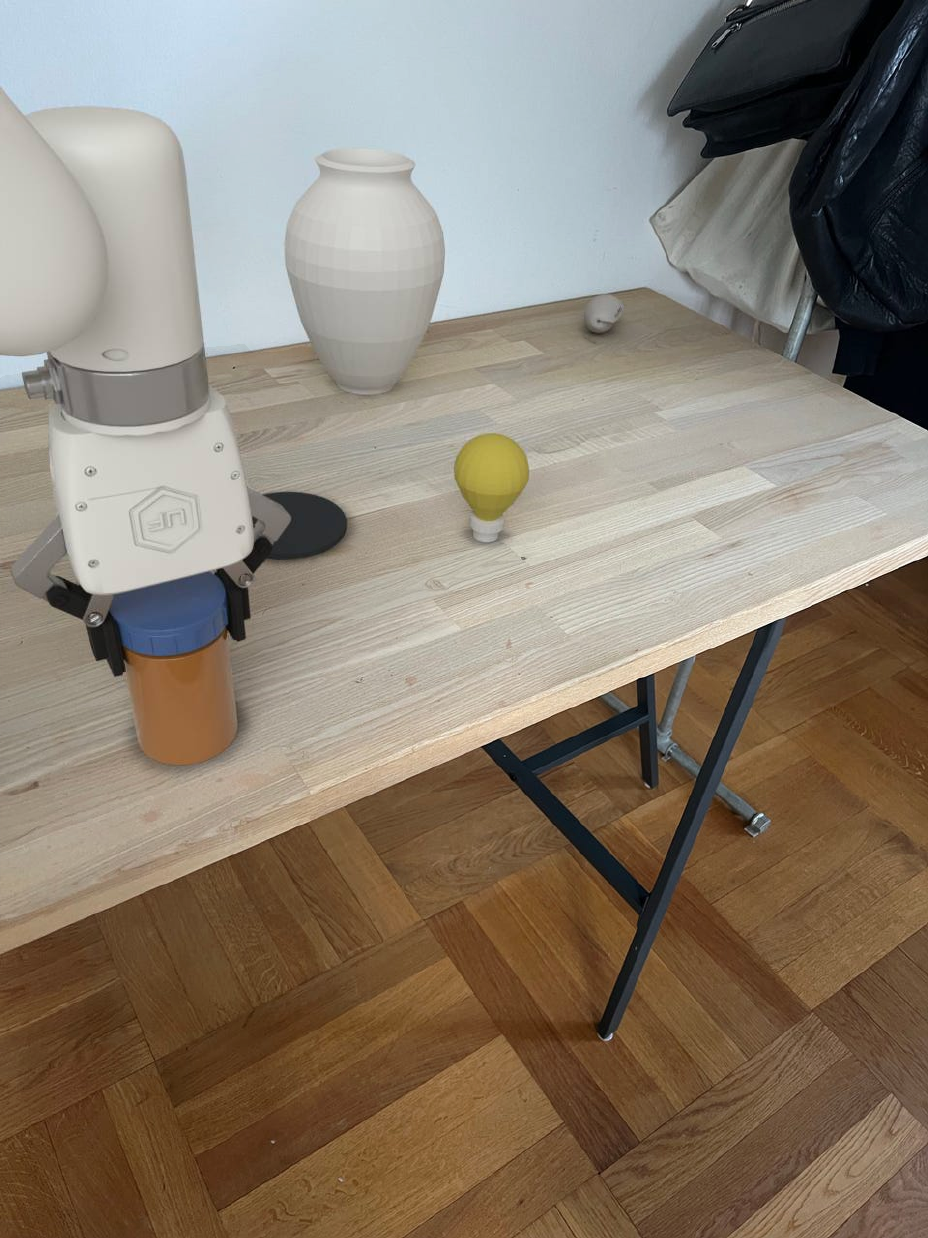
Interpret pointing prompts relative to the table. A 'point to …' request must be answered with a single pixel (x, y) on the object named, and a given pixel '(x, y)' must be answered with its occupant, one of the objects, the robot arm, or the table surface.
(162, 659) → the jar
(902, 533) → the table surface
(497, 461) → the light bulb
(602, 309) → the stone
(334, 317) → the vase
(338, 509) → the coaster
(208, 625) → the lid
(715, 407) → the table surface
